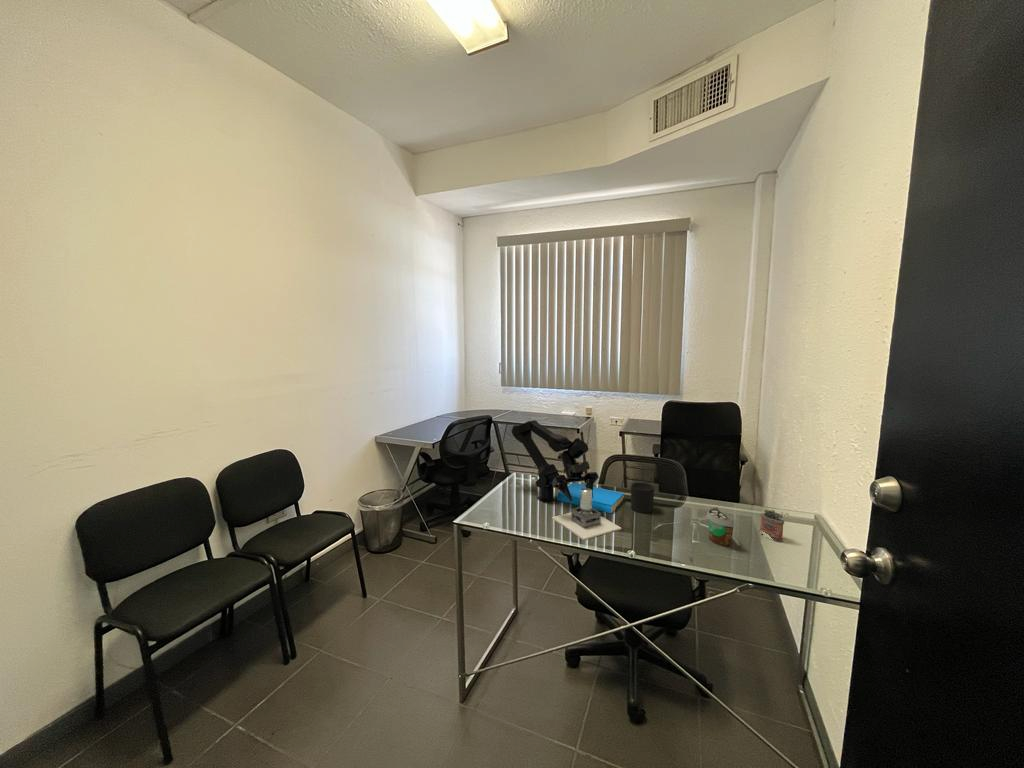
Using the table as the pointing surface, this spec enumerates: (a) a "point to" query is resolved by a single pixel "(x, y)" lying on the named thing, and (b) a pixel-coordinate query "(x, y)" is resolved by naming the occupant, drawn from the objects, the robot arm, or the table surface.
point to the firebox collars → (585, 518)
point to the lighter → (772, 525)
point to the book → (594, 497)
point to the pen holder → (642, 497)
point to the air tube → (586, 502)
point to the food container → (719, 527)
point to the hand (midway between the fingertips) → (581, 499)
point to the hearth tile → (587, 532)
